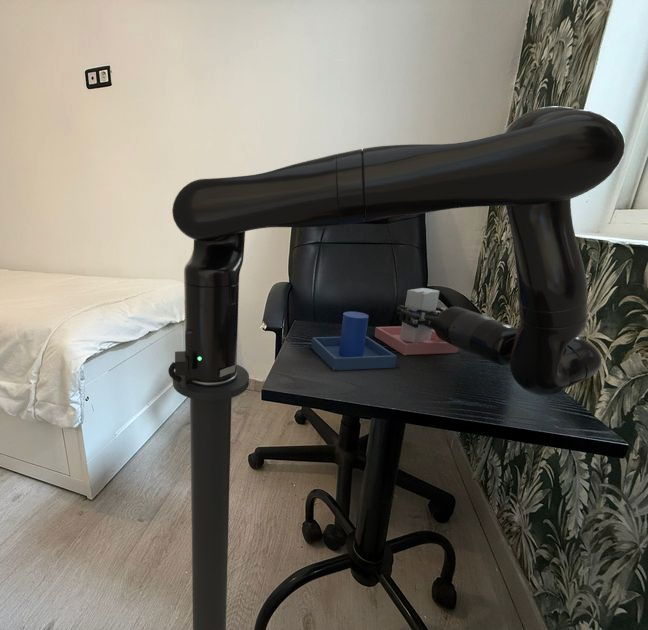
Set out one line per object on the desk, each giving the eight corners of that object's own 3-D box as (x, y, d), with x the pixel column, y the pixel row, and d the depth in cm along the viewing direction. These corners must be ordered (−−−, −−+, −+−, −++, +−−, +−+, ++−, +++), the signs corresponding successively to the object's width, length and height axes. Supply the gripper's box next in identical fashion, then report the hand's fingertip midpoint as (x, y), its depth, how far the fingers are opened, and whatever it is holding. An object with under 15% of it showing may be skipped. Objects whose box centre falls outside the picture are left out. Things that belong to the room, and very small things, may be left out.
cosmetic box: (414, 335, 88) (422, 287, 85) (431, 340, 84) (440, 290, 81) (398, 338, 85) (405, 289, 82) (415, 344, 81) (424, 292, 78)
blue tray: (333, 370, 70) (334, 358, 69) (311, 347, 82) (311, 337, 81) (395, 367, 72) (397, 356, 71) (364, 345, 83) (366, 335, 83)
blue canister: (345, 360, 74) (350, 318, 71) (334, 350, 79) (339, 311, 76) (367, 359, 75) (373, 317, 72) (356, 350, 79) (361, 311, 77)
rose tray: (403, 355, 78) (405, 344, 78) (374, 336, 90) (375, 327, 89) (457, 352, 80) (459, 342, 80) (421, 334, 92) (423, 325, 91)
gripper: (504, 311, 69) (443, 293, 85) (437, 312, 67) (387, 294, 83) (496, 347, 71) (437, 323, 87) (430, 349, 69) (383, 324, 85)
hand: (413, 309), depth 85 cm, fingers closed on cosmetic box, 7 cm apart
